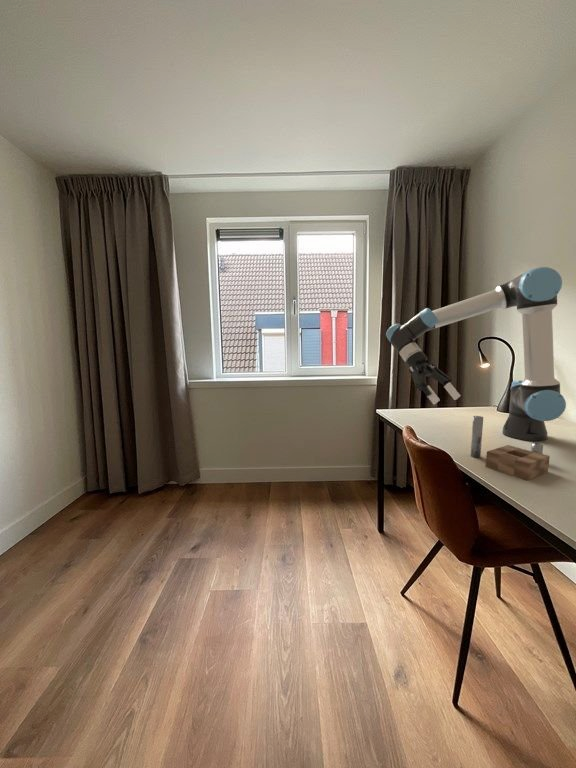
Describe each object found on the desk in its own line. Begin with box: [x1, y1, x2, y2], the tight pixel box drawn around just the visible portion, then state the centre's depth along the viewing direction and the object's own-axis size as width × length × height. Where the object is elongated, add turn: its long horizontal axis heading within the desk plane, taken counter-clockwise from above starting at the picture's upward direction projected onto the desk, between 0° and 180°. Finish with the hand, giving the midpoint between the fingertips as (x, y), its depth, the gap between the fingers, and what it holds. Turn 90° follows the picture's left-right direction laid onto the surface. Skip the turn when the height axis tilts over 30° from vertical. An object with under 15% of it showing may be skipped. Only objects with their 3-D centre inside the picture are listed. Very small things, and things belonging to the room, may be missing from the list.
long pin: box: [470, 415, 484, 459], centre depth 114 cm, size 3×3×14 cm
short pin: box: [530, 442, 544, 454], centre depth 109 cm, size 3×3×6 cm
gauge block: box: [485, 444, 550, 481], centre depth 103 cm, size 12×12×5 cm
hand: (447, 400), depth 121 cm, fingers open, 13 cm apart
